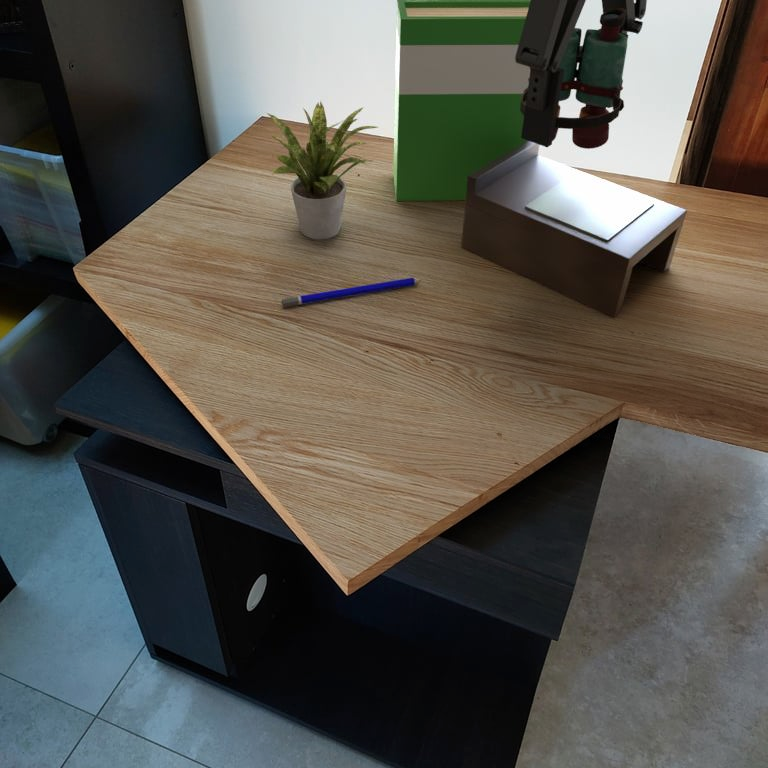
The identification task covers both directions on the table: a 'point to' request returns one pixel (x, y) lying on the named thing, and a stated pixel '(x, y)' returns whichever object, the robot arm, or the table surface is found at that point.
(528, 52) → the robot arm
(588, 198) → the shelf
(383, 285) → the pencil
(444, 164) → the hardback book
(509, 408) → the table surface
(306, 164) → the house plant
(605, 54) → the binoculars
